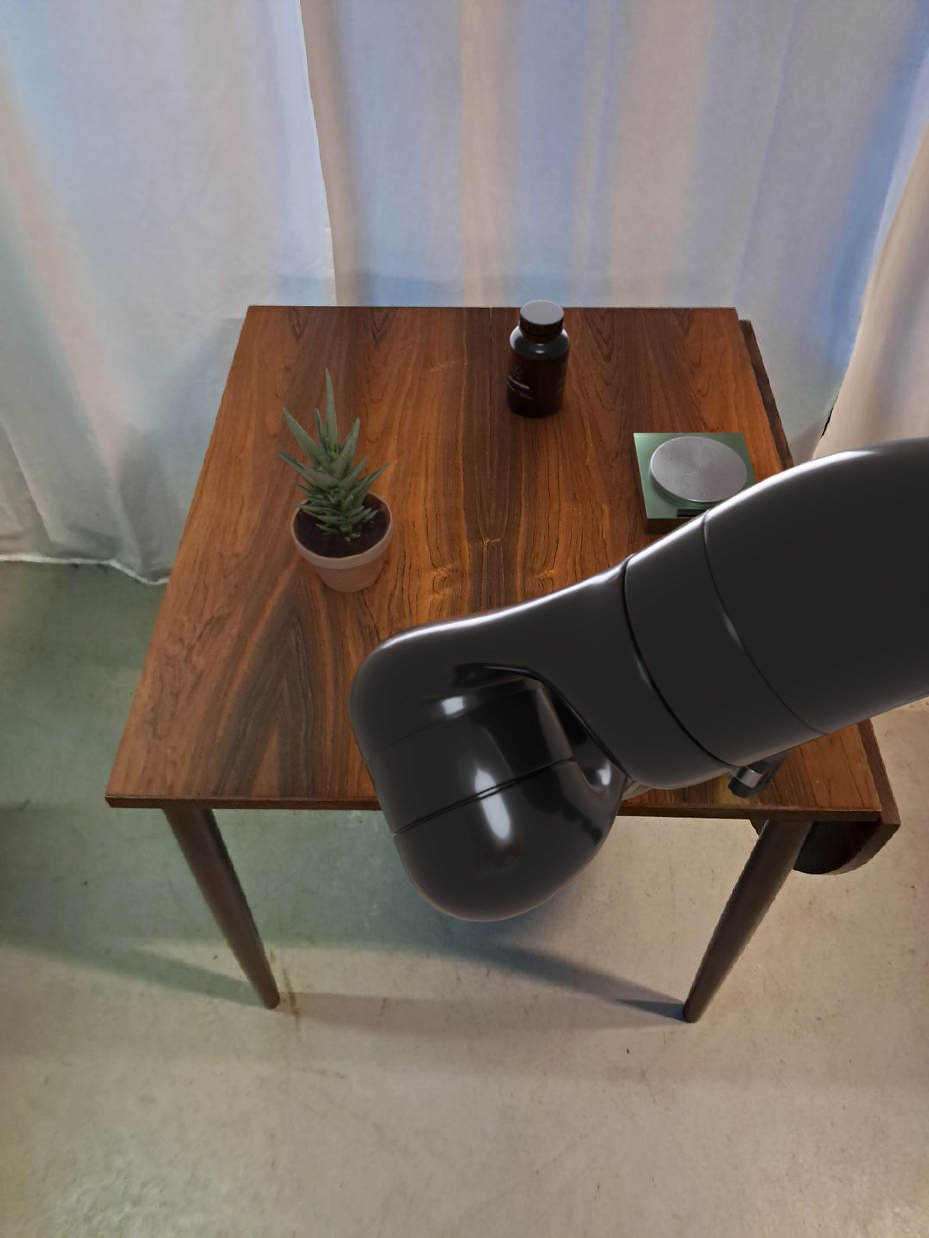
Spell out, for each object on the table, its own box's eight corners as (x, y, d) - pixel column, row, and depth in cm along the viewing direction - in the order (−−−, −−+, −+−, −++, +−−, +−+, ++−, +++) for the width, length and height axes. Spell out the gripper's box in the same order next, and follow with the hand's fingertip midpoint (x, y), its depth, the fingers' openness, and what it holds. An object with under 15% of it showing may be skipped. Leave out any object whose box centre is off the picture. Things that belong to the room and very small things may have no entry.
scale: (760, 534, 92) (768, 512, 89) (644, 534, 92) (648, 512, 89) (737, 449, 100) (744, 427, 97) (630, 449, 100) (634, 427, 97)
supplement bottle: (502, 417, 103) (505, 327, 94) (510, 381, 107) (513, 291, 98) (561, 423, 103) (570, 333, 93) (566, 386, 107) (575, 296, 97)
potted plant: (321, 621, 85) (275, 417, 66) (289, 555, 90) (238, 347, 71) (417, 586, 88) (400, 380, 68) (380, 524, 93) (356, 315, 73)
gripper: (782, 740, 42) (822, 712, 56) (545, 589, 48) (635, 598, 62) (699, 865, 44) (758, 807, 58) (480, 705, 50) (583, 688, 64)
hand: (694, 699), depth 60 cm, fingers open, 8 cm apart
